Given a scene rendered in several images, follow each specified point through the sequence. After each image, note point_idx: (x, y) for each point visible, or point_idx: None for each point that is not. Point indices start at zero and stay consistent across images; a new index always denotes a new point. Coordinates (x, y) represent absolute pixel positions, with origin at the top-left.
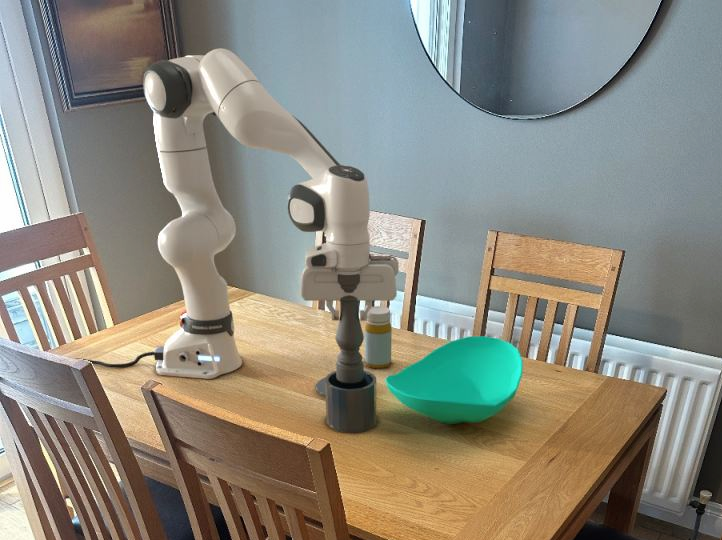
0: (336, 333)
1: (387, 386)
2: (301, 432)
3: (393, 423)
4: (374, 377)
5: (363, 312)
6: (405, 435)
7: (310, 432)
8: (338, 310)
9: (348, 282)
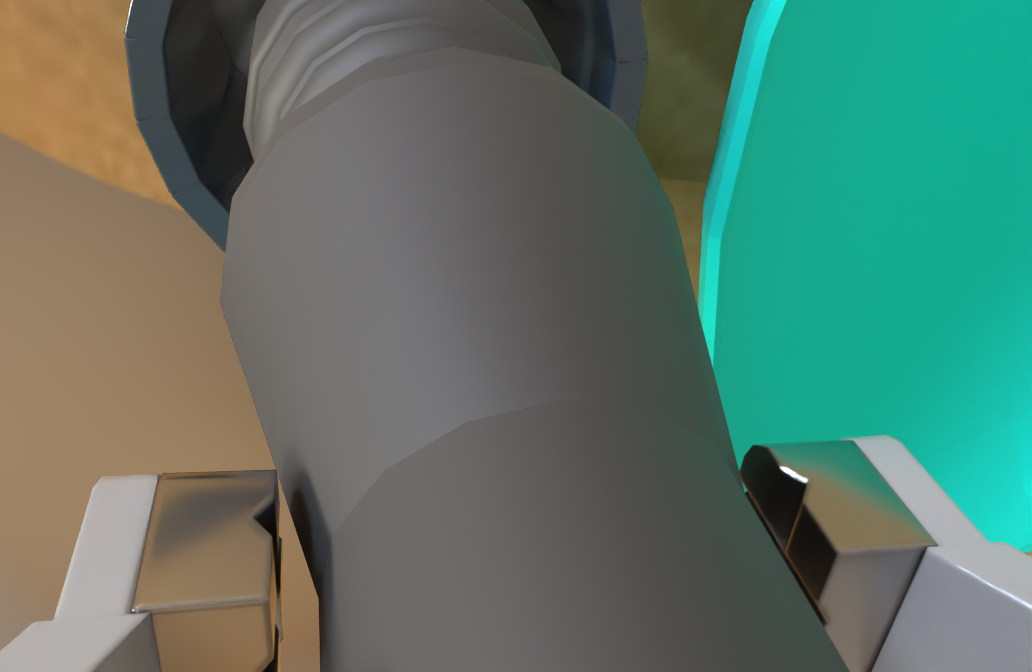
0: (235, 343)
1: (701, 274)
2: (21, 139)
3: (651, 43)
4: (632, 57)
5: (865, 660)
6: (686, 196)
7: (89, 142)
8: (261, 604)
9: None
